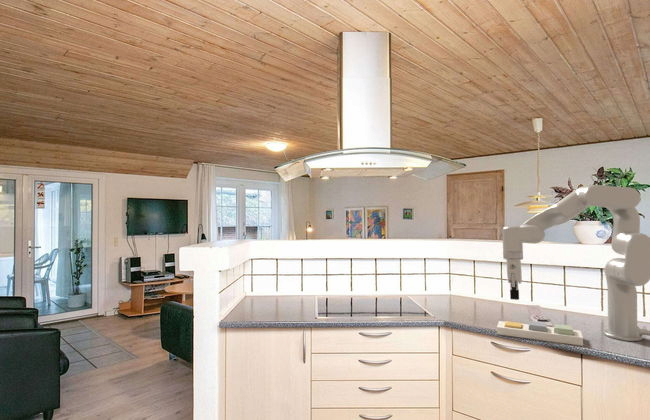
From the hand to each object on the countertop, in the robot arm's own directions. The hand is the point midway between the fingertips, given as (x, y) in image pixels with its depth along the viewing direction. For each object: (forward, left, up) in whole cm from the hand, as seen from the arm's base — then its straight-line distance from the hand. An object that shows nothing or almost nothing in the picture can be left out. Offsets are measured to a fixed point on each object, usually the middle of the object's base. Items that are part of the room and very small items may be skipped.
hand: (514, 299), depth 163 cm
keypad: (-8, 0, -14) cm, 17 cm away
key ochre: (+1, 0, -13) cm, 13 cm away
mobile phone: (-9, -20, -15) cm, 26 cm away
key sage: (-17, 0, -12) cm, 21 cm away
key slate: (-8, 0, -12) cm, 14 cm away
